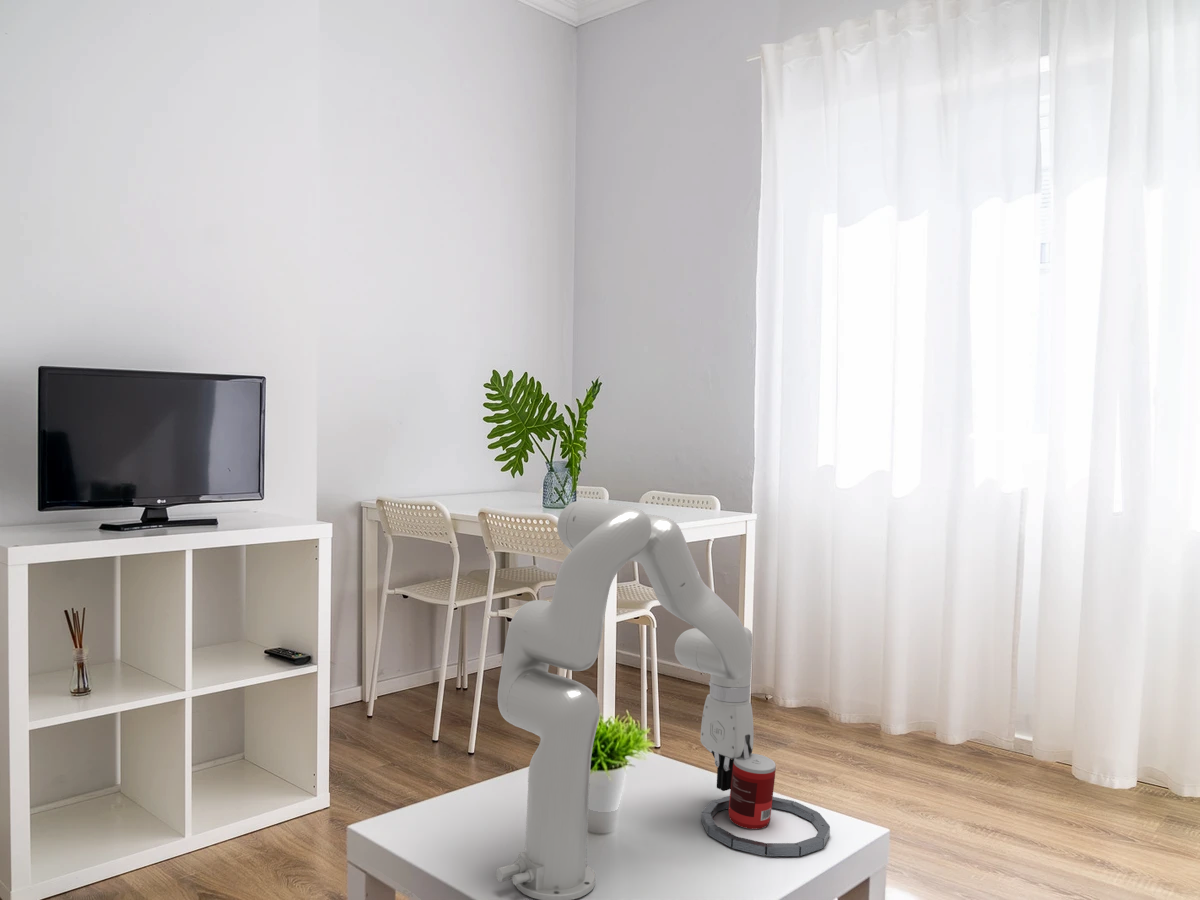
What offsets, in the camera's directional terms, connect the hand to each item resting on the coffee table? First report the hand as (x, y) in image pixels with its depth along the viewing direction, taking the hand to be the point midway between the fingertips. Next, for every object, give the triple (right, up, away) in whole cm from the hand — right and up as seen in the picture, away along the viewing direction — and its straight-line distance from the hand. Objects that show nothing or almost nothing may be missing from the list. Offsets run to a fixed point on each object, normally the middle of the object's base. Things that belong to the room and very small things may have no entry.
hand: (725, 788), depth 175 cm
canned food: (+4, -4, -5) cm, 8 cm away
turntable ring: (+6, -4, -9) cm, 11 cm away
